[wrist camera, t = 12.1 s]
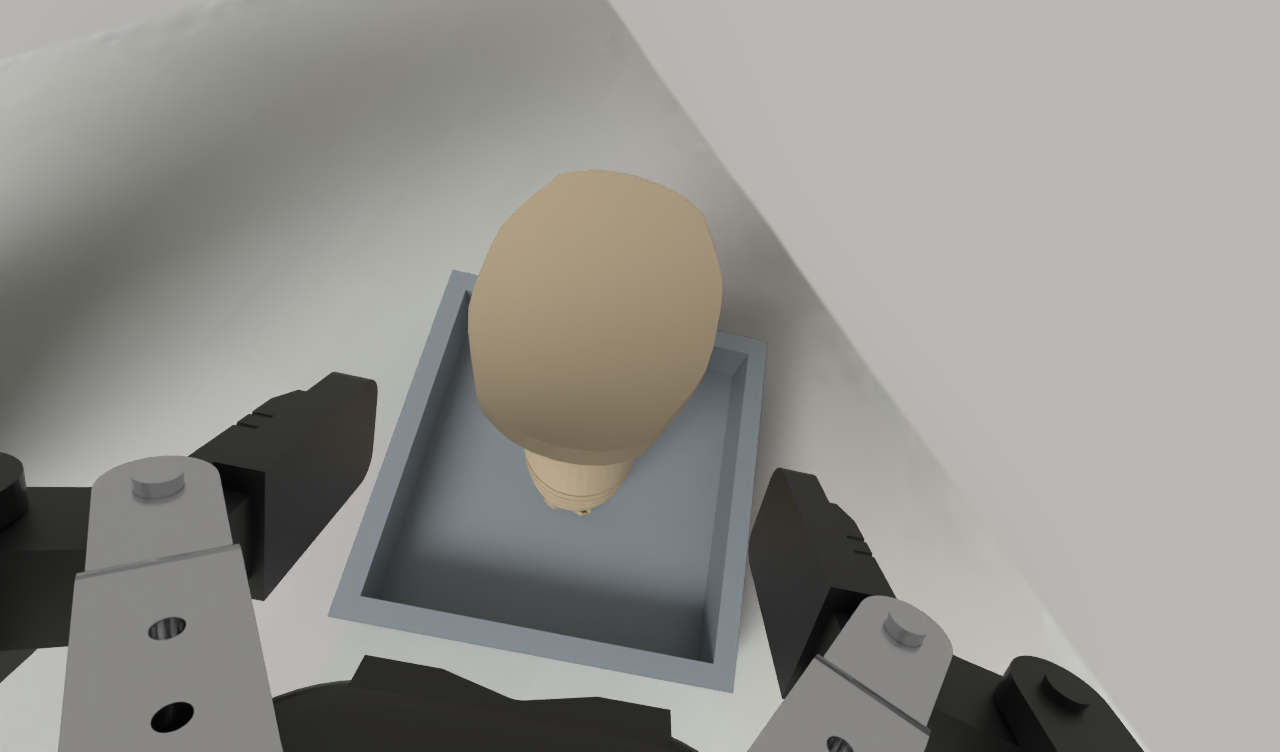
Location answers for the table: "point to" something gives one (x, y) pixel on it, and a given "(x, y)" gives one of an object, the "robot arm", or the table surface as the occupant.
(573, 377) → the beige club-shaped piece
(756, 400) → the tray
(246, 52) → the table surface
